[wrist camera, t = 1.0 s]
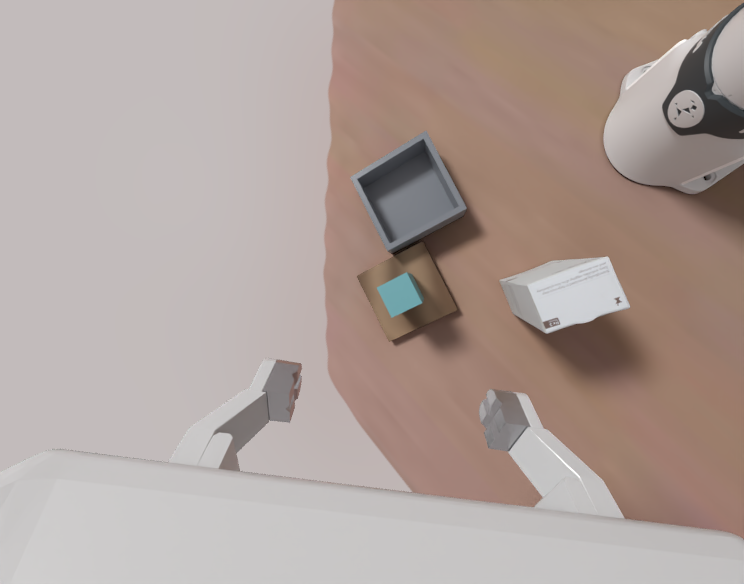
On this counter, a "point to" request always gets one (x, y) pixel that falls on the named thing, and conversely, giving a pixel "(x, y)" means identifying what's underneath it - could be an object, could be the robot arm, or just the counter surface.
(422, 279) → the brown wooden lid
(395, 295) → the strut
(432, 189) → the bin
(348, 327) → the counter surface
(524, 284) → the skincare box
